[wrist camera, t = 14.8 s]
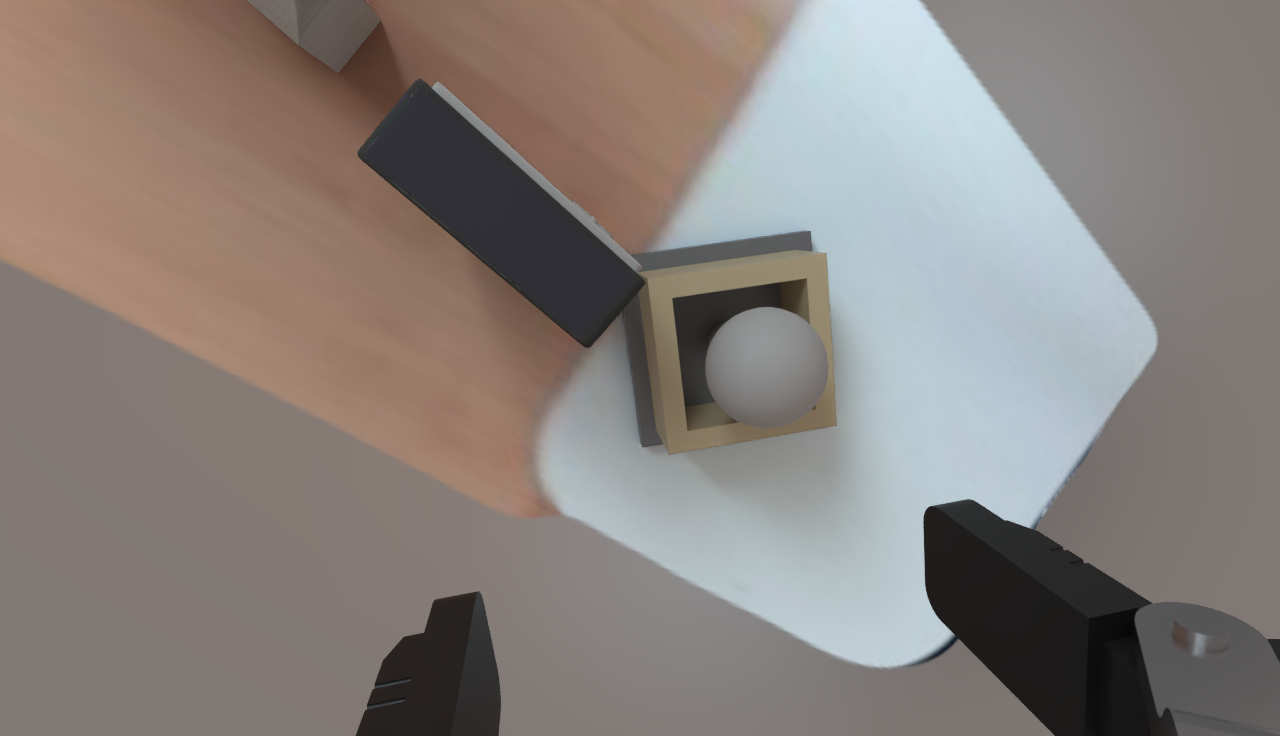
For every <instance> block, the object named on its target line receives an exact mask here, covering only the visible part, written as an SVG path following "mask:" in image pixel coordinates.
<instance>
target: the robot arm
mask: <svg viewBox="0 0 1280 736" xmlns="http://www.w3.org/2000/svg"><path fill="white" fill-rule="evenodd" d="M924 557H925V586H926V591H927V595H928V599H929V601H930V604H931V606H932V608H933V610H934V612H935V613H936V615H937V616H938V618H939V619H940V620H941V621H942V622H943V623H944V624H945V625H946V626H947V627H948V628H949V629H950V630H951V631H952V632H953V633H954V634H955V635H956V636H957V637H958V638H959V639H960V640H961V641H962V642H963V643H964V644H965V645H966V646H967V648H969V650H971V651H972V653H973V654H975V656H976V657H977V658H978V659H979V660H981V662H982V663H983V664H985V666H986V667H987V668H988V669H989V670H990V671H991V672H992V673H993V674H994V675H995V676H996V677H997V678H998V679H999V680H1000V681H1001V682H1002V683H1003V684H1004V685H1005V686H1006V687H1007V688H1008V689H1009V690H1010V691H1011V692H1012V693H1013V694H1014V695H1015V696H1016V697H1017V698H1018V699H1019V700H1020V701H1021V702H1022V703H1023V704H1024V705H1025V706H1026V707H1027V708H1028V709H1029V710H1030V711H1031V712H1032V713H1033V714H1034V715H1035V716H1036V717H1037V718H1038V719H1039V720H1040V721H1041V722H1042V723H1043V724H1044V725H1045V726H1046V727H1047V728H1048V729H1049V730H1050V731H1051V732H1052V733H1053V734H1054V735H1055V736H1280V639H1266V638H1265V637H1264V636H1263V635H1262V634H1261V633H1260V632H1259V631H1257V630H1256V629H1255V628H1254V627H1252V626H1250V625H1249V624H1247V623H1245V622H1244V621H1242V620H1240V619H1238V618H1236V617H1233V616H1231V615H1229V614H1226V613H1224V612H1221V611H1218V610H1215V609H1212V608H1208V607H1204V606H1200V605H1194V604H1189V603H1179V602H1160V603H1154V604H1153V603H1151V602H1149V601H1148V600H1146V599H1145V598H1143V597H1141V596H1140V595H1138V594H1137V593H1135V592H1134V591H1132V590H1130V589H1129V588H1127V587H1125V586H1124V585H1122V584H1121V583H1119V582H1118V581H1116V580H1115V579H1113V578H1111V577H1109V576H1108V575H1106V574H1105V573H1103V572H1102V571H1100V570H1098V569H1097V568H1095V567H1094V566H1092V565H1091V564H1089V563H1084V562H1083V560H1082V559H1081V558H1079V557H1078V556H1076V555H1075V554H1073V553H1072V552H1070V551H1068V550H1063V547H1062V546H1061V545H1059V544H1057V543H1056V542H1054V541H1053V540H1051V539H1049V538H1048V537H1046V536H1044V535H1043V534H1041V533H1040V532H1038V531H1036V530H1033V529H1030V528H1027V527H1024V526H1021V525H1019V524H1016V523H1013V522H1010V521H1007V520H1006V521H1005V520H1003V519H1002V518H1000V517H998V516H997V515H995V514H994V513H992V512H991V511H989V510H988V509H986V508H985V507H983V506H982V505H980V504H979V503H977V502H975V501H973V500H970V499H967V500H961V501H956V502H951V503H946V504H940V505H935V506H930V507H928V508H927V509H926V511H925V514H924ZM500 711H501V695H500V683H499V675H498V669H497V665H496V660H495V655H494V650H493V645H492V640H491V635H490V630H489V626H488V621H487V616H486V611H485V606H484V602H483V598H482V595H481V593H480V592H479V591H478V592H473V593H467V594H462V595H457V596H452V597H446V598H441V599H436V600H434V602H433V604H432V608H431V612H430V615H429V618H428V621H427V625H426V628H425V632H424V633H421V634H416V635H411V636H406V637H403V639H402V640H401V641H400V642H399V643H398V644H397V645H396V646H395V648H394V649H393V650H392V651H391V652H390V653H389V654H388V655H387V657H386V658H385V659H384V660H383V662H382V665H381V668H380V671H379V673H378V676H377V679H376V682H375V689H373V690H372V693H371V695H370V698H369V701H368V704H367V710H365V712H364V715H363V718H362V720H361V723H360V726H359V728H358V731H357V734H356V736H498V735H499V722H500Z"/></svg>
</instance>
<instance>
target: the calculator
mask: <svg viewBox="0 0 1280 736" xmlns="http://www.w3.org/2000/svg"><path fill="white" fill-rule="evenodd" d="M358 156H359V158H360V159H361V160H362V161H363V162H365V163H366V164H367V165H368V166H369V167H370V168H372V169H373V170H374V171H375V172H376V173H378V174H379V175H380V176H381V177H382V178H384V179H385V180H386V181H387V182H388V183H390V184H391V185H392V186H393V187H394V188H395V189H397V190H398V191H399V192H400V193H401V194H403V195H404V196H405V197H406V198H407V199H409V200H410V201H411V202H412V203H413V204H414V205H416V206H417V207H418V208H419V209H420V210H422V211H423V212H424V213H425V214H426V215H428V216H429V217H430V218H431V219H432V220H434V221H435V222H436V223H437V224H438V225H439V226H441V227H442V228H443V229H444V230H445V231H447V232H448V233H449V234H450V235H451V236H453V237H454V238H455V239H456V240H457V241H459V242H460V243H461V244H462V245H463V246H464V247H466V248H467V249H468V250H469V251H470V252H472V253H473V254H474V255H475V256H476V257H478V258H479V259H480V260H481V261H482V262H483V263H485V264H486V265H487V266H488V267H489V268H491V269H492V270H493V271H494V272H495V273H497V274H498V275H499V276H500V277H501V278H503V279H504V280H505V281H506V282H507V283H508V284H510V285H511V286H512V287H513V288H514V289H516V290H517V291H518V292H519V293H520V294H522V295H523V296H524V297H525V298H526V299H527V300H529V301H530V302H531V303H532V304H533V305H535V306H536V307H537V308H538V309H539V310H541V311H542V312H543V313H544V314H545V315H547V316H548V317H549V318H550V319H551V320H552V321H554V322H555V323H556V324H557V325H558V326H560V327H561V328H562V329H563V330H564V331H566V332H567V333H568V334H569V335H570V336H571V337H573V338H574V339H575V340H576V341H577V342H579V343H580V344H581V345H582V346H584V347H586V348H589V347H591V346H592V345H593V343H594V342H595V341H596V340H597V339H598V338H599V337H600V336H601V334H602V333H603V332H604V331H605V330H606V329H607V328H608V327H609V325H610V324H611V323H612V322H613V321H614V320H615V319H616V317H617V316H618V315H619V314H620V313H621V312H622V311H623V309H624V308H625V307H626V306H627V305H628V304H629V303H630V301H631V300H632V299H633V298H634V297H635V296H636V295H637V293H638V292H639V291H640V290H641V289H642V287H643V286H644V285H645V280H644V279H643V278H642V277H641V276H640V275H639V274H638V272H639V271H640V270H641V269H642V266H641V265H640V264H639V263H638V262H637V261H636V260H635V259H634V258H633V257H632V256H631V255H630V254H629V253H627V252H626V251H625V250H624V249H623V248H622V247H621V246H620V245H619V244H618V243H616V242H615V241H614V240H613V239H612V237H613V236H612V235H611V234H610V233H609V232H608V231H607V230H606V229H605V228H603V227H602V226H601V225H600V224H599V223H598V222H597V220H596V219H595V218H594V217H593V216H590V215H589V214H588V213H587V212H586V211H585V210H584V209H582V208H581V207H580V206H579V205H578V204H577V203H576V202H575V201H572V202H571V201H570V200H569V199H568V198H567V197H566V196H565V195H564V194H562V193H561V192H560V191H559V190H558V189H557V188H556V187H555V186H553V185H552V184H551V183H550V182H549V181H548V180H547V179H546V178H545V177H544V176H542V175H541V174H540V173H539V172H538V171H537V170H536V169H535V168H534V167H533V166H532V165H530V164H529V163H528V161H527V160H526V159H525V158H523V157H522V156H521V155H520V154H519V153H518V152H517V151H516V150H515V149H514V148H512V147H511V146H510V145H509V144H508V143H507V142H506V141H505V140H504V139H502V138H501V137H500V136H499V135H498V134H497V133H496V132H495V131H494V130H493V129H491V128H490V127H489V126H488V125H486V124H485V123H484V122H483V121H482V120H481V119H480V118H479V117H478V116H476V115H475V114H474V113H473V112H472V111H471V110H470V109H469V108H468V107H467V106H465V105H464V104H463V103H462V102H461V101H460V100H459V99H458V98H456V97H455V96H454V95H453V94H452V93H451V92H450V91H449V90H448V89H447V88H445V87H444V86H443V85H442V84H440V83H439V82H436V83H435V84H434V85H433V87H432V88H431V87H430V86H429V85H428V84H427V83H425V82H424V81H423V80H421V79H417V80H416V81H415V82H414V83H413V85H412V86H411V87H410V88H409V89H408V91H407V92H406V93H405V94H404V95H403V97H402V98H401V99H400V100H399V102H398V103H397V104H396V105H395V106H394V108H393V109H392V110H391V111H390V112H389V114H388V115H387V116H386V117H385V119H384V120H383V121H382V122H381V123H380V125H379V126H378V127H377V128H376V129H375V131H374V132H373V133H372V134H371V136H370V137H369V138H368V139H367V141H366V142H365V143H364V144H363V146H362V147H361V148H360V149H359V151H358Z"/></svg>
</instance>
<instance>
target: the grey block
mask: <svg viewBox="0 0 1280 736" xmlns="http://www.w3.org/2000/svg"><path fill="white" fill-rule="evenodd" d="M247 1H248V2H249V3H250V4H251V5H252V6H254V7H255V8H256V9H257V10H258V11H259V12H260V13H262V14H263V15H264V16H265V17H266V18H267V19H269V20H270V21H271V22H272V23H273V24H274V25H275V26H277V27H278V28H279V29H280V30H281V31H282V32H284V33H285V34H286V35H287V36H288V37H289V38H291V39H292V40H293V41H294V42H295V43H296V44H297V45H299V46H300V47H301V48H303V49H304V50H306V51H307V52H308V53H310V54H311V55H313V56H314V57H316V58H317V59H318V60H320V61H321V62H323V63H324V64H325V65H327V66H328V67H330V68H331V69H333V70H334V71H335V72H337V73H339V72H340V71H341V70H342V68H343V67H344V66H345V65H346V63H347V62H348V61H349V60H350V58H351V57H352V56H353V55H354V53H355V52H356V51H357V50H358V48H359V47H360V46H361V45H362V43H363V42H364V41H365V40H366V38H367V37H368V36H369V35H370V34H371V32H372V31H373V30H374V29H375V27H376V26H377V25H378V24H379V22H380V21H381V19H380V18H379V17H378V16H377V14H376V13H375V12H374V11H373V10H372V8H371V7H370V6H369V5H368V4H367V2H366V1H365V0H247Z"/></svg>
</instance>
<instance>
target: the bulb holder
mask: <svg viewBox="0 0 1280 736" xmlns="http://www.w3.org/2000/svg"><path fill="white" fill-rule="evenodd" d="M631 256H632V257H633V258H634V259H635V260H636V261H637V262H638V263H639V264H640V265H641V266H642V269H641V270H640V271H639V272H638V274H639V275H640V276H641V277H642V278H643V279H644V280H645V285H644V286H643V287H642V289H641V290H640V291H639V292H638V293H637V295H636V296H635V297H634V298H633V299H632V300H631V301H630V303H629V304H628V305H627V306H626V307H625V308H624V309H623V317H624V324H625V332H626V339H627V346H628V354H629V361H630V369H631V376H632V384H633V391H634V398H635V406H636V413H637V421H638V428H639V436H640V443H641V445H642V447H649V446H654V445H660V444H664V446H665V448H666V449H667V451H668V453H669V455H670V454H675V453H681V452H687V451H693V450H698V449H704V448H710V447H716V446H722V445H727V444H733V443H739V442H745V441H750V440H756V439H762V438H768V437H773V436H779V435H785V434H791V433H797V432H802V431H808V430H814V429H820V428H825V427H831V426H837V422H836V405H835V388H834V371H833V354H832V337H831V321H830V304H829V287H828V270H827V253H819V252H812V245H811V231H800V232H792V233H785V234H778V235H771V236H763V237H756V238H749V239H742V240H735V241H727V242H720V243H713V244H706V245H699V246H691V247H684V248H677V249H670V250H663V251H655V252H648V253H641V254H634V255H631ZM759 307H774V308H780V309H784V310H787V311H789V312H792V313H794V314H797V315H798V316H800V317H801V318H803V319H804V320H806V321H807V322H808V323H809V324H810V325H811V326H812V327H813V328H814V330H815V331H816V332H817V334H818V335H819V337H820V338H821V340H822V342H823V345H824V347H825V350H826V354H827V359H828V378H827V382H826V386H825V389H824V391H823V393H822V396H821V397H820V399H819V400H818V402H817V403H816V405H815V406H814V407H813V408H812V409H811V410H810V411H809V412H808V413H807V414H806V415H804V416H803V417H802V418H800V419H799V420H797V421H795V422H793V423H791V424H788V425H784V426H781V427H774V428H759V427H752V426H749V425H747V424H744V423H741V422H738V421H737V420H735V419H733V418H732V417H730V416H729V415H728V414H727V413H725V412H724V411H723V410H722V409H721V408H720V407H719V406H718V404H717V403H716V401H715V400H714V398H713V397H712V395H711V393H710V390H709V388H708V384H707V380H706V374H705V360H706V355H707V350H708V338H709V335H710V333H711V332H712V330H713V329H714V328H715V327H716V326H718V325H720V324H722V323H725V322H727V321H728V320H730V319H731V318H732V317H734V316H735V315H738V314H740V313H742V312H744V311H747V310H751V309H755V308H759Z"/></svg>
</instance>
